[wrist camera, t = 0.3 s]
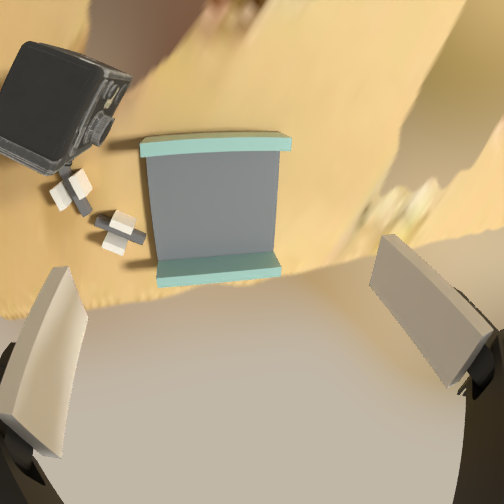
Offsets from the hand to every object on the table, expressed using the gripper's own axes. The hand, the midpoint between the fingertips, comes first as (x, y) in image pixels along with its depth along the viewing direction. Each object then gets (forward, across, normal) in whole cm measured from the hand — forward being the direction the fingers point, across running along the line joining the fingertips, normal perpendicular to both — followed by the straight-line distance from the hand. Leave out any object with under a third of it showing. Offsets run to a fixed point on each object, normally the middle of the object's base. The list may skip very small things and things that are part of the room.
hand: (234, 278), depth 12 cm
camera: (+26, -13, +7) cm, 31 cm away
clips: (+26, -14, -7) cm, 30 cm away
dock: (+26, +1, -7) cm, 27 cm away
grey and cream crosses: (+26, -13, -5) cm, 30 cm away
